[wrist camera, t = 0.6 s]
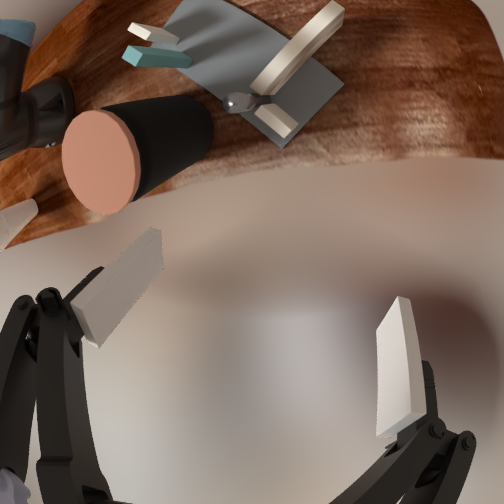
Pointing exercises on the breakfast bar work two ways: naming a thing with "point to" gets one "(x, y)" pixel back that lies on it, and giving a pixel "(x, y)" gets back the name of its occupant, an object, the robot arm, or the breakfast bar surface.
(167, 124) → the coffee jar
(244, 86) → the mat
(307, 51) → the gate
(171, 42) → the fence
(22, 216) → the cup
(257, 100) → the hinge post
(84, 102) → the breakfast bar surface
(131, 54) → the bar
